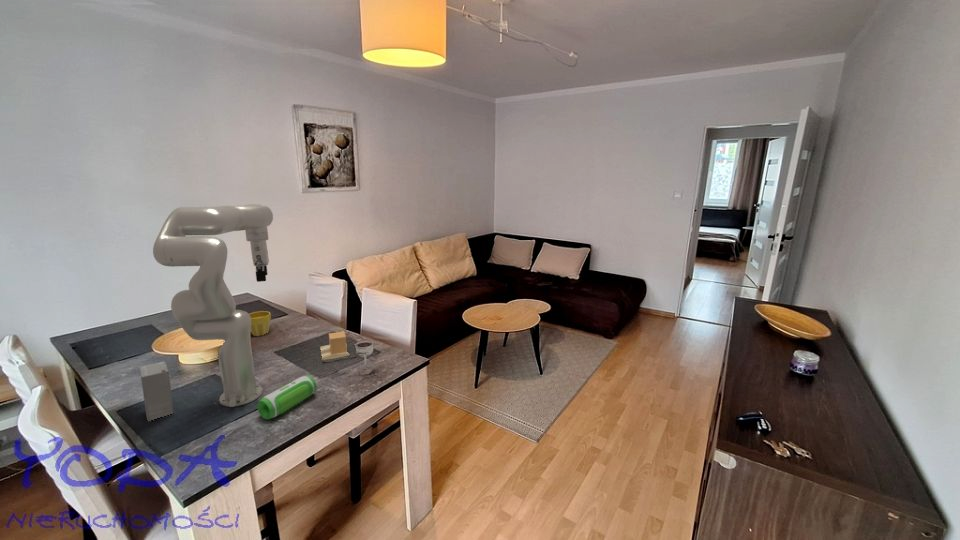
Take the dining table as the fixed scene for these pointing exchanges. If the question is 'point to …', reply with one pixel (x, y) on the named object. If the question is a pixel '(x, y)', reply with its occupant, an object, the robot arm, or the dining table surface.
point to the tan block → (337, 342)
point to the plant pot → (260, 322)
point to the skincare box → (156, 390)
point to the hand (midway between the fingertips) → (262, 278)
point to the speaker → (286, 397)
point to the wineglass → (364, 349)
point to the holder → (327, 353)
